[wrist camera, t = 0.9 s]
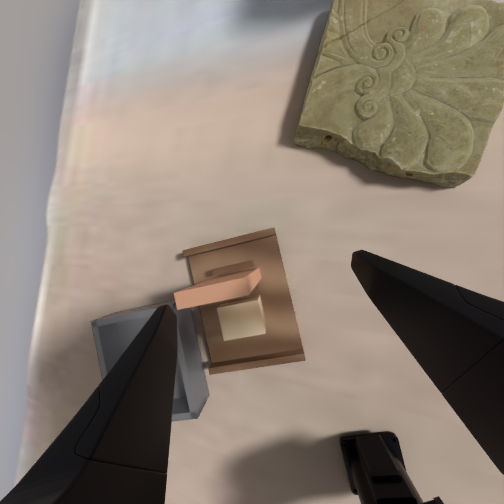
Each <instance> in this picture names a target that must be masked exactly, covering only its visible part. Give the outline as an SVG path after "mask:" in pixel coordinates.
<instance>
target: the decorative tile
mask: <svg viewBox="0 0 504 504" xmlns="http://www.w3.org/2000/svg"><path fill="white" fill-rule="evenodd" d="M503 105H504V3H503V2H496V1H492V0H333V1H332V4H331V8H330V12H329V15H328V19H327V22H326V26H325V29H324V32H323V36H322V39H321V43H320V46H319V50H318V54H317V58H316V62H315V65H314V68H313V71H312V75H311V78H310V82H309V86H308V89H307V93H306V97H305V100H304V105H303V109H302V112H301V116H300V119H299V123H298V126H297V131H296V135H295V138H294V143H295V144H297V145H299V146H302V147H305V148H325V149H329V150H331V151H334V152H337V153H338V154H341V155H342V156H344V157H345V158H352V159H355V160H358V161H360V162H362V163H363V164H364V165H365V166H366V167H367V168H368V169H370V170H372V171H382V172H384V173H386V174H387V175H393V176H397V177H402V178H411V179H414V180H419V181H422V182H430V183H433V184H435V185H438V186H443V187H450V188H455V187H456V186H459V185H461V184H462V183H464V182H466V181H467V180H469V179H470V178H471V177H473V176H474V175H475V173H476V171H477V168H478V166H479V164H480V161H481V158H482V155H483V153H484V150H485V148H486V145H487V143H488V139H489V136H490V133H491V130H492V127H493V125H494V123H495V121H496V120H497V119H498V117H499V115H500V113H501V111H502V108H503Z"/></svg>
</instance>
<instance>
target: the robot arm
mask: <svg viewBox="0 0 504 504" xmlns="http://www.w3.org/2000/svg"><path fill="white" fill-rule="evenodd" d="M351 268H352V270H353V272H354V273H355V275H356V277H357V278H358V280H359V282H360V283H361V285H362V287H363V288H364V290H365V292H366V293H367V295H368V296H369V298H370V299H371V301H372V302H373V303H374V305H375V306H376V307H377V309H378V310H379V311H380V313H381V314H382V315H383V317H384V318H385V319H386V321H387V322H388V323H389V325H390V326H391V327H392V328H393V330H394V331H395V332H396V334H397V335H398V336H399V338H400V339H401V340H402V342H403V343H404V344H405V346H406V347H407V348H408V350H409V351H410V352H411V354H412V355H413V356H414V358H415V359H416V360H417V362H418V363H419V364H420V366H421V367H422V368H423V370H424V371H425V372H426V374H427V375H428V376H429V378H430V379H431V380H432V382H433V383H434V384H435V386H436V387H437V388H438V390H439V391H440V392H441V393H442V395H443V396H444V398H445V399H446V400H447V402H448V403H449V404H450V406H451V407H452V408H453V410H454V411H455V412H456V414H457V415H458V416H459V418H460V419H461V420H462V422H463V423H464V424H465V426H466V427H467V428H468V430H469V431H470V432H471V434H472V435H473V436H474V438H475V439H476V440H477V442H478V443H479V444H480V446H481V447H482V448H483V450H484V451H485V452H486V454H487V455H488V456H489V458H490V459H491V460H492V462H493V463H494V464H495V465H496V467H497V468H498V469H499V470H500V472H501V473H502V474H503V475H504V302H503V301H500V300H497V299H494V298H491V297H488V296H485V295H482V294H479V293H476V292H474V291H471V290H468V289H466V288H463V287H460V286H458V285H454V284H452V283H449V282H447V281H444V280H441V279H439V278H436V277H433V276H431V275H428V274H426V273H423V272H420V271H418V270H415V269H412V268H410V267H407V266H404V265H402V264H399V263H396V262H394V261H391V260H388V259H386V258H383V257H380V256H378V255H375V254H372V253H370V252H367V251H364V250H359V251H355V252H353V254H352V261H351ZM177 352H178V338H177V316H176V314H175V312H174V311H173V310H172V308H171V307H170V306H169V305H168V304H165V305H161V306H159V307H158V308H157V309H156V310H155V312H154V313H153V314H152V316H151V317H150V318H149V320H148V321H147V322H146V323H145V325H144V326H143V327H142V329H141V330H140V331H139V333H138V334H137V335H136V337H135V338H134V339H133V341H132V342H131V343H130V345H129V346H128V347H127V349H126V350H125V351H124V352H123V354H122V355H121V356H120V358H119V359H118V360H117V362H116V363H115V364H114V366H113V367H112V368H111V370H110V371H109V372H108V374H107V375H106V376H105V378H104V379H103V380H102V382H101V383H100V384H99V386H98V387H97V388H96V389H95V391H94V392H93V393H92V395H91V396H90V397H89V399H88V400H87V401H86V402H85V404H84V405H83V406H82V407H81V409H80V410H79V411H78V413H77V414H76V415H75V416H74V418H73V419H72V420H71V421H70V422H69V424H68V425H67V426H66V427H65V428H64V430H63V431H62V432H61V433H60V434H59V436H58V437H57V438H56V439H55V440H54V442H53V443H52V444H51V445H50V446H49V447H48V449H47V450H46V451H45V452H44V453H43V455H42V456H41V457H40V458H39V459H38V460H37V462H36V463H35V464H34V465H33V466H32V468H31V469H30V470H29V471H28V472H27V473H26V475H25V476H24V477H23V478H22V479H21V480H20V482H19V483H18V484H17V485H16V486H15V487H14V488H13V489H12V490H11V491H10V492H9V493H8V494H7V495H6V496H5V497H4V498H3V499H2V500H1V501H0V504H165V493H166V481H167V474H166V473H167V468H168V456H169V445H170V433H171V422H172V410H173V399H174V387H175V376H176V364H177ZM392 438H393V439H392ZM343 442H345V443H343ZM340 445H341V449H342V453H343V458H344V462H345V466H346V470H347V474H348V479H349V483H350V487H351V490H352V492H353V494H355V495H358V496H359V499H360V502H361V504H444V503H443V502H442V500H441V499H440V497H435V498H433V499H434V500H431V501H427V502H423V501H422V499H421V497H420V495H419V494H418V492H417V490H416V488H415V487H414V485H413V483H412V481H411V480H410V478H409V476H408V474H407V472H406V469H405V465H404V461H403V457H402V453H401V449H400V445H399V441H398V438H397V436H396V435H395V434H394V433H379V434H368V435H357V436H346V437H341V438H340ZM355 488H356V489H355Z"/></svg>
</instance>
